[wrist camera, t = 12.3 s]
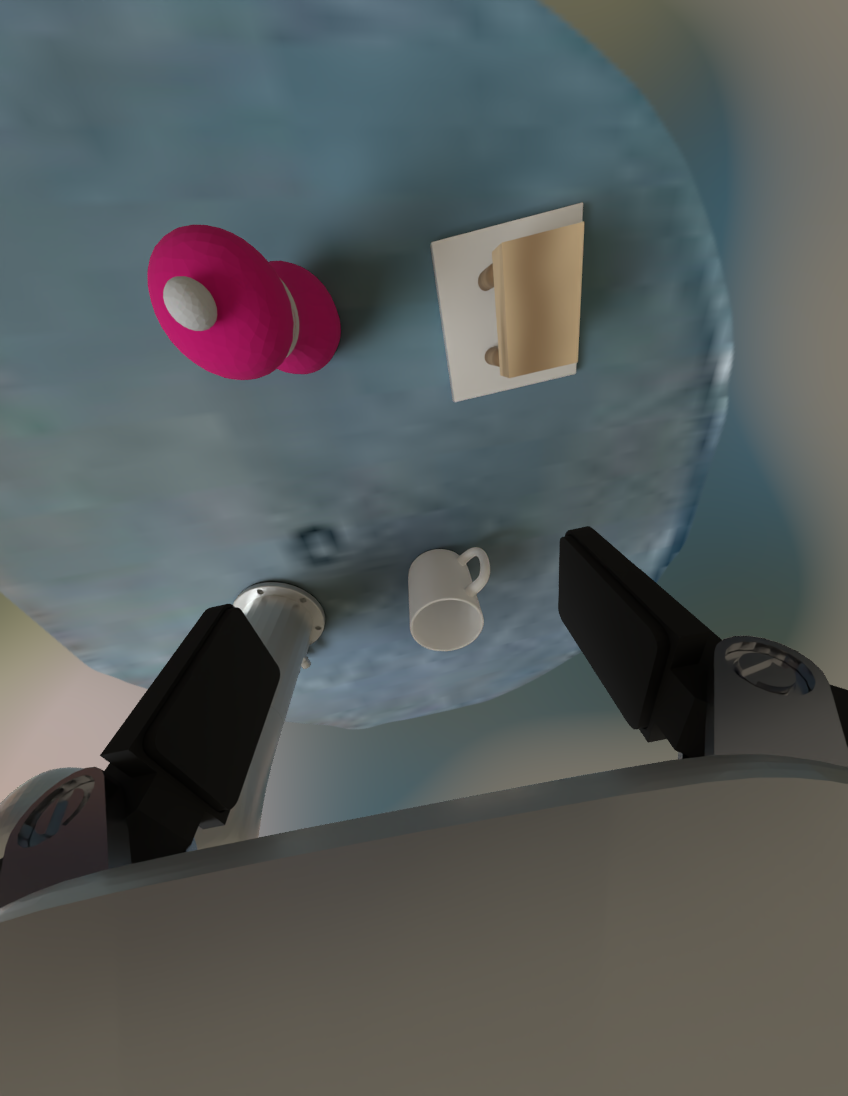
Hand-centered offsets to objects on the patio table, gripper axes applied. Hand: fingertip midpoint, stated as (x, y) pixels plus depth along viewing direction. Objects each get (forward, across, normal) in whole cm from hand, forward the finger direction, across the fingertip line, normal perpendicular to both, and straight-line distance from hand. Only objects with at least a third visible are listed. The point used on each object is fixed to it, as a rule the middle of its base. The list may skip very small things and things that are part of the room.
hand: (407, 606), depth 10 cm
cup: (+30, -2, +19) cm, 35 cm away
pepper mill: (+29, +6, -10) cm, 31 cm away
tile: (+28, -12, -7) cm, 32 cm away
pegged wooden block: (+27, -12, -7) cm, 30 cm away
